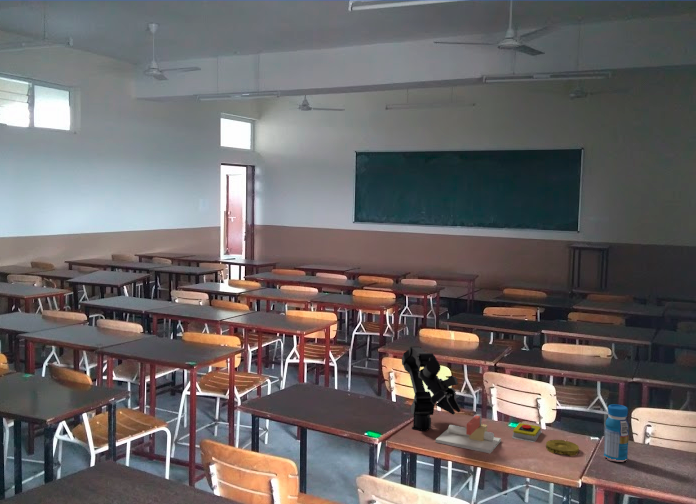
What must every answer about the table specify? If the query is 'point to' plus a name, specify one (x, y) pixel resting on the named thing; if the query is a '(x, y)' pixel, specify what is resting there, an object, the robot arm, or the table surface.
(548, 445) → the olive round disc
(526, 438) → the emergency button
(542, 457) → the table surface
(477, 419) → the lever
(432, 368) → the robot arm
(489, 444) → the board
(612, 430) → the beverage bottle
